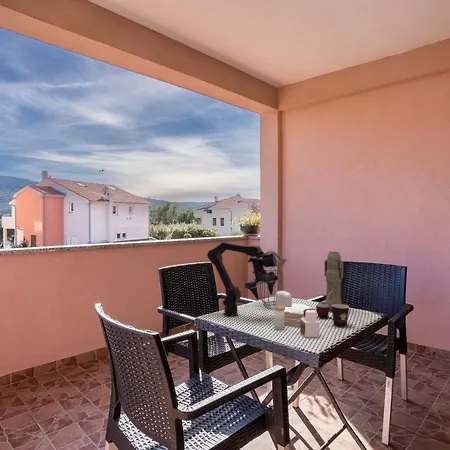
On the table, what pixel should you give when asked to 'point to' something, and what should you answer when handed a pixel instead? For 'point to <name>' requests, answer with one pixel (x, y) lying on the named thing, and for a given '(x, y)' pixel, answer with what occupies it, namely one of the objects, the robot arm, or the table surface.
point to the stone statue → (333, 278)
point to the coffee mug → (339, 314)
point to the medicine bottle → (310, 324)
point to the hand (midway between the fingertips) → (264, 297)
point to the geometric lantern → (275, 282)
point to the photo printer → (284, 299)
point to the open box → (292, 319)
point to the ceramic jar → (279, 317)
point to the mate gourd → (323, 309)
